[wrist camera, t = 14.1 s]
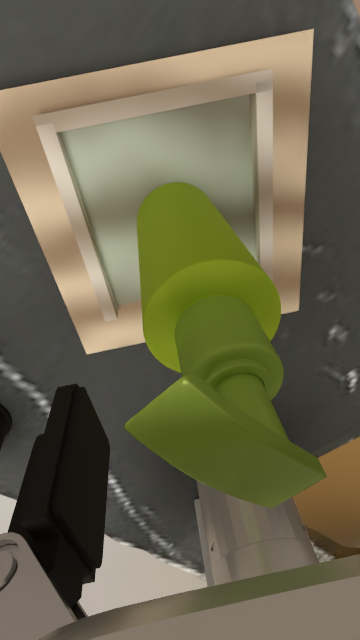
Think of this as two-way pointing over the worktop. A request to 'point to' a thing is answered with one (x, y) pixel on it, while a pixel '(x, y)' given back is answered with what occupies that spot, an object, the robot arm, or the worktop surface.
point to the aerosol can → (4, 424)
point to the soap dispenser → (213, 353)
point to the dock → (161, 167)
